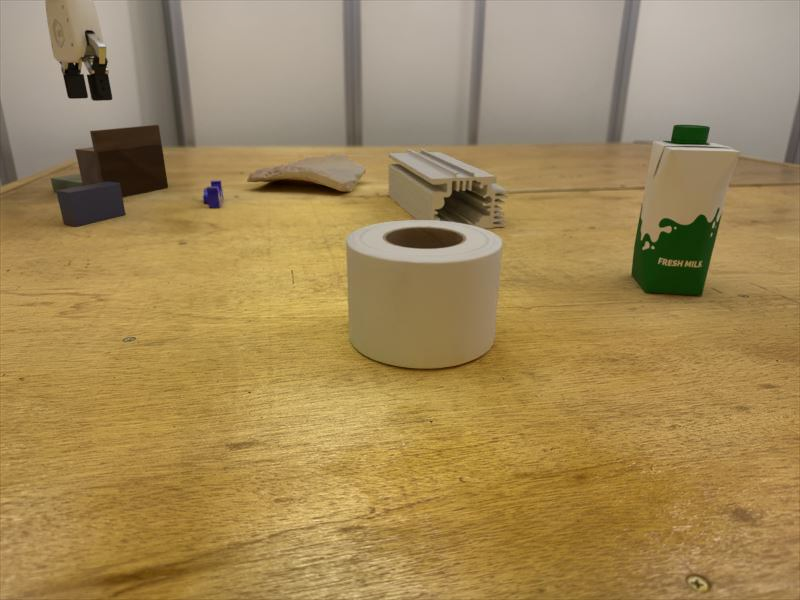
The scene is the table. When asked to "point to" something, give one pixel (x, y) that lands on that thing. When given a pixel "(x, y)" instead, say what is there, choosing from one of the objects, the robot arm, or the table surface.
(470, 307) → the tape roll
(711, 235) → the milk carton
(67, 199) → the rectangular block
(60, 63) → the robot arm
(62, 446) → the table surface
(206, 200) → the cable holder
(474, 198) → the aluminum extrusion profile
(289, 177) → the pottery shard
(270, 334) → the table surface
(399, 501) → the table surface
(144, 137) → the rack
